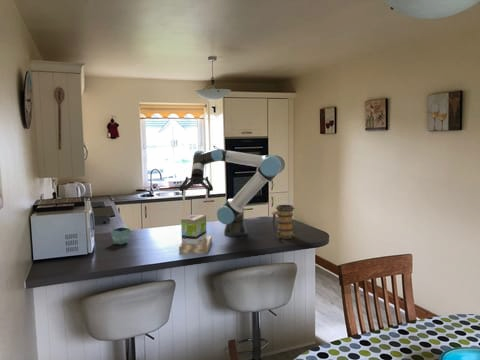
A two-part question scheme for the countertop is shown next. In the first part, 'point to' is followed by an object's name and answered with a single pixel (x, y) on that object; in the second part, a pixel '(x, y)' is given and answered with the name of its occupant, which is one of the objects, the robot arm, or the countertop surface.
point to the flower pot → (120, 235)
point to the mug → (283, 221)
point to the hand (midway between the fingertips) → (195, 199)
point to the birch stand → (196, 246)
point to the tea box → (193, 229)
